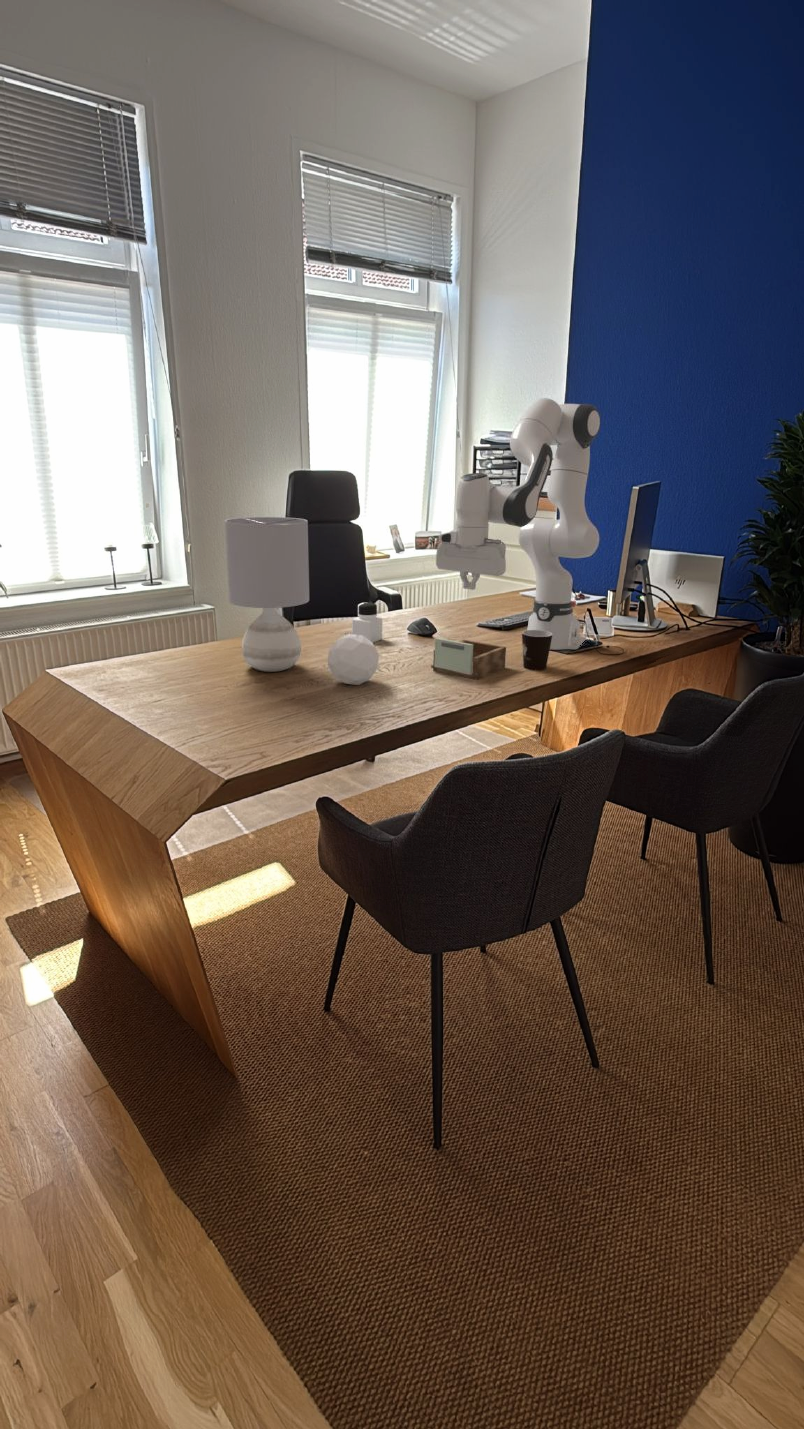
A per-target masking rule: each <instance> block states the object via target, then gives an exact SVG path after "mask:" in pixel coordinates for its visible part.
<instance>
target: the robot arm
mask: <svg viewBox="0 0 804 1429" xmlns="http://www.w3.org/2000/svg"><path fill="white" fill-rule="evenodd" d="M600 428H601V415H600V412H599V411H598V409H597V407H596V406H594V405H591V404H589V403H581V404H580V403H562V404H559V403H557V401H555V400H554V399H551V398H544V397H543V398H539V399H537V400H535V402H533V403H532V404H531V405H530V406H529V408H528V409H527V410H526V411H525V412H524V414H523V415H522V417H521V418H520V419H519V421H518V422H517V424H516V425H515V427H514V429H513V430H512V432H511V434H510V435H511V436H510V439H509V447H510V450H511V453H512V455H513V456H514V457H515V459H516V460H517V461H518V462H519V463H521V464H522V465H524V466H527V467H528V469H527V470H528V471H527V474H526V476H525V479H524V481H523V483H521V484H520V485H517V486H498V485H496V484H494V483H493V482H491V480H490V478H489V475H488V473H487V474H486V473H482V472H474V473H468V474H467V473H466V474H465V475H463V476H461V477H460V478H459V482H458V485H457V491H456V497H455V498H456V500H455V511H456V515H457V516H456V521H455V527H454V530H450V531H448V532H443V533H441V534H439V535H438V542H439V544H438V545H437V546H436V547H437V549H436V556H435V565H436V567H437V569H438V570H445V571H451V572H452V571H454V572H459V577H460V579H461V581H462V585H463V587H462V588H463V589H465V590H472V591H473V590H475V589H477V588H476V586H477V584H476V583H477V582H478V581H479V578H480V577H481V575H486V576H494V577H495V576H496V577H498V576H503V575H504V574H505V573H506V570H507V569H506V568H507V566H506V565H507V564H506V562H507V561H506V560H507V559H506V550H507V549H506V548H507V546H506V544H505V543H504V542H503V541H502V540H501V539H492V538H489V527H490V525H489V523H491V524H501V525H509V526H513V527H517V528H519V531H518V535H517V537H518V543H519V546H520V548H521V549H522V550H523V551H524V552H525V553H526V554H527V556H528V557H529V559H530V561H531V563H532V566H533V568H534V572H535V599H534V600H533V604H532V608H533V609H532V611H533V613H532V614H531V615H530V616H528V617H529V618H528V625H527V629H526V630H543V631H548V632H551V633H552V634H553V635H552V640H551V645H550V650H553V651H556V650H557V651H558V650H578V649H579V648H580V647H581V646H583V644H584V643H585V642H586V641H587V636H584V635H580V632H581V622H580V621H579V620H578V619H577V618H576V616H575V615H574V613H573V612H574V608H575V607H576V604H577V601H576V600H572V593H573V577H572V574H571V573H570V571H568V570H567V569H565V567H563V566H562V564H561V562H560V559H559V558H569V559H582V558H588V557H591V556H592V555H594V554H595V552H596V550H597V549H598V547H599V543H600V533H599V531H598V529H597V527H596V526H595V525H594V524H593V522H591V520H590V519H589V516H588V513H587V511H586V506H585V505H586V504H585V497H586V496H585V495H586V487H587V483H588V482H587V481H588V478H589V477H588V476H589V471H590V470H589V469H590V461H591V460H590V458H591V453H590V452H591V449H590V448H591V447H590V446H591V444H592V442H594V440H595V439H596V438H597V436H598V434H599V431H600V430H601V429H600ZM551 445H556V451H555V453H554V454H553V450H552V447H551ZM549 474H550V475H549ZM548 476H549V481H548V482H549V483H548V486H547V498H548V500H549V502H550V503H551V505H553V506H554V507H555V508H557V509H558V511H559V519H553V518H552V519H551V518H535V517H536V514H537V512H538V507H539V501H540V498H541V494H542V492H543V489H544V487H545V484H546V482H547V478H548ZM469 573H470V574H471V578H472V579H471V581H469V578H468V575H469ZM585 640H586V641H585ZM584 641H585V642H584ZM583 642H584V643H583ZM582 643H583V644H582ZM580 645H581V646H580Z"/></svg>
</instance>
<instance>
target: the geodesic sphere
mask: <svg viewBox="0 0 804 1429" xmlns="http://www.w3.org/2000/svg"><path fill="white" fill-rule="evenodd" d="M379 658H380V653H379V652H378V650H377V649H376V646H375V645H374V642H373V643H372V642H371V641H369V640H368V639H367V638H365V637H364V636H362V635H357V634H356V635H355V634H354V635H353V633H352V632H348V631H347V632H345V633H344V636H341V637H339V638H338V639H336V640H335V642H334V643H333V644H332V645H331V647H330V648H329V649H328V658H327V666H328V668H329V670H330V672H331V674H332V676H333V677H334V678H336V679H337V680H339V681H341V682H342V683H343V684H346V685H347V684H348V685H355V686H360V685H362V684H363V683H366V682H367V681H368V680H370V679H372V677H373V675H374V674H375V672H376V671H377V670H378V667H379Z"/></svg>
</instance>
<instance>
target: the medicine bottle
mask: <svg viewBox="0 0 804 1429" xmlns="http://www.w3.org/2000/svg"><path fill="white" fill-rule="evenodd" d="M377 606H378V605H377V604H376V603H373V602H361V603H359V604H357V617H355V618H353V619H352V620H351V624H352V625H351V627H352V628H351V629H352V630H351V631H352V632H351V634H352V633H353V635H354V634H355V635H356V634H357V635H362V636H364V637H365V638H367V639H368V640H369V641H371V642H372V643H373V644H374V643H375V642H378V641H381V640H383V618H382V617H379V616H378V607H377ZM377 616H378V617H377Z"/></svg>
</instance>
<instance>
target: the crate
mask: <svg viewBox="0 0 804 1429" xmlns="http://www.w3.org/2000/svg"><path fill="white" fill-rule="evenodd" d="M458 642H462V643H468V644H473V663H472V673H471V674H467V673H462V672H458V671H453V670H448V669H443V668H438V667H434V661H435V649H433V660H432V661H433V664H431V665H430V668H431V669H432V671H433V672H435V673H441V674H447V675H452V676H456V677H461V678H466V679H471V680H475V679H477V680H479V679H481V677H482V678H484V677H485V676H488V675H491V674H493V673H496V672H498V671H500V670H503V669H504V668H506V655H507V647H506V646H501V645H495V644H490V643H485V642H478V641H474V640H468V639H462V640H460V641H458ZM502 668H503V669H502ZM497 670H498V671H497ZM495 671H496V672H495ZM492 672H493V673H492ZM490 673H491V674H490Z"/></svg>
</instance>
